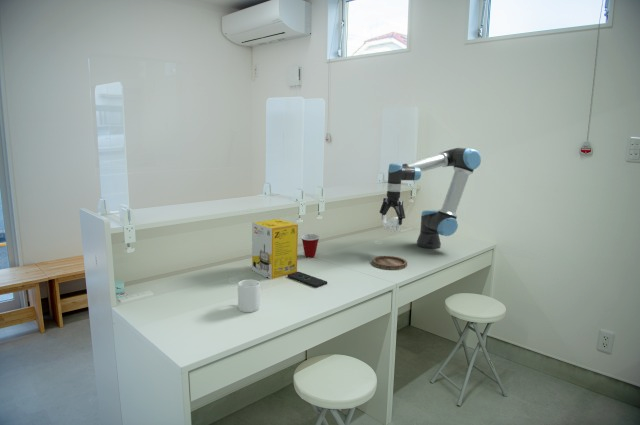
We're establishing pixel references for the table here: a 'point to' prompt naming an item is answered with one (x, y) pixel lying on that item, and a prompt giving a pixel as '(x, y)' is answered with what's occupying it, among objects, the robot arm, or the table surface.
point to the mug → (249, 295)
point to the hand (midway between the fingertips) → (391, 227)
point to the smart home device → (307, 279)
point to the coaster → (389, 262)
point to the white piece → (391, 224)
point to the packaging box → (274, 248)
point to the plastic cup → (310, 244)
